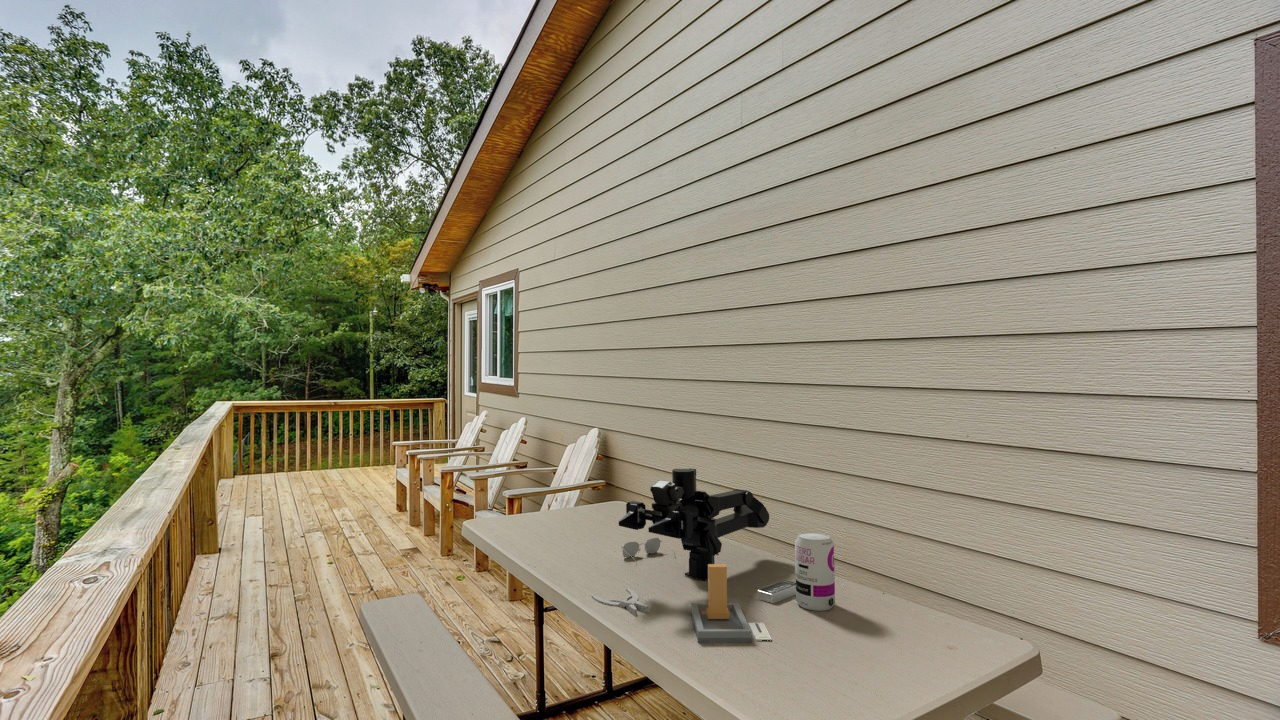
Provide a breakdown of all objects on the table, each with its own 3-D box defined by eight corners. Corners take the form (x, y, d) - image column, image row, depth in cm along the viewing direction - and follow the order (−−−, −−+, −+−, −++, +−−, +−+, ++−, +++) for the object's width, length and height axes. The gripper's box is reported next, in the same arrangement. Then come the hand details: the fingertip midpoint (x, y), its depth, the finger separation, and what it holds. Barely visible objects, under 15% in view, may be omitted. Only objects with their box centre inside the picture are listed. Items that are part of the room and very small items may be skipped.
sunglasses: (660, 552, 178) (661, 536, 178) (677, 564, 171) (678, 547, 171) (619, 560, 170) (621, 543, 170) (635, 572, 163) (637, 554, 163)
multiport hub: (756, 600, 138) (756, 589, 138) (784, 589, 145) (784, 579, 145) (772, 605, 135) (772, 594, 135) (800, 593, 142) (800, 583, 142)
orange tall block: (706, 613, 126) (705, 563, 126) (727, 613, 126) (726, 563, 126) (707, 619, 123) (707, 567, 123) (729, 619, 123) (729, 567, 123)
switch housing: (691, 612, 129) (691, 603, 129) (757, 612, 129) (756, 602, 129) (698, 642, 114) (697, 631, 114) (772, 641, 114) (772, 631, 114)
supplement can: (837, 601, 136) (835, 533, 136) (832, 614, 128) (830, 542, 129) (800, 596, 139) (798, 530, 140) (793, 608, 131) (791, 538, 132)
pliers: (628, 584, 144) (661, 603, 131) (628, 591, 144) (661, 611, 131) (590, 591, 140) (621, 612, 127) (590, 598, 139) (621, 619, 126)
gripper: (647, 476, 155) (603, 486, 143) (707, 484, 142) (664, 495, 131) (649, 520, 155) (605, 533, 143) (709, 532, 142) (665, 547, 130)
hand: (633, 526), depth 137 cm, fingers open, 9 cm apart
